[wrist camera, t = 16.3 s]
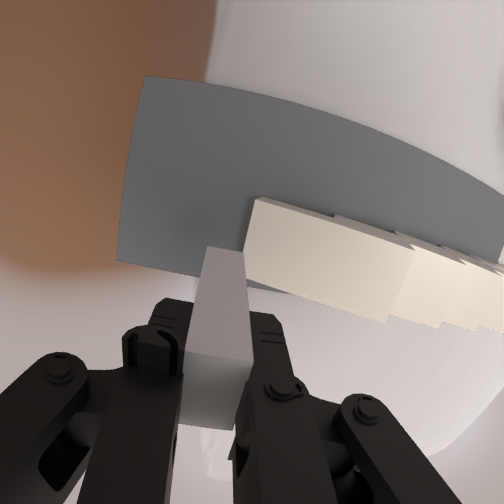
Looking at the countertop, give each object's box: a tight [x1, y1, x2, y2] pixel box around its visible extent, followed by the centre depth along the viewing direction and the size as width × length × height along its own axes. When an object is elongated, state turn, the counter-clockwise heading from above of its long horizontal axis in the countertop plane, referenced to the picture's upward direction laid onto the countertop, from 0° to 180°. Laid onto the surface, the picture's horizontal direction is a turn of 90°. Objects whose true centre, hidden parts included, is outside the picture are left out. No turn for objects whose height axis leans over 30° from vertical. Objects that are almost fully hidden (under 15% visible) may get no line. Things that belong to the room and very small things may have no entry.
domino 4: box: [440, 245, 504, 333], centre depth 20 cm, size 5×2×10 cm
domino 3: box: [393, 230, 502, 332], centre depth 20 cm, size 5×2×10 cm
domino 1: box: [243, 197, 416, 324], centre depth 18 cm, size 5×2×10 cm
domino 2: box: [334, 214, 467, 329], centre depth 19 cm, size 5×2×10 cm
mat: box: [117, 76, 504, 295], centre depth 21 cm, size 13×34×1 cm, turn 77°
